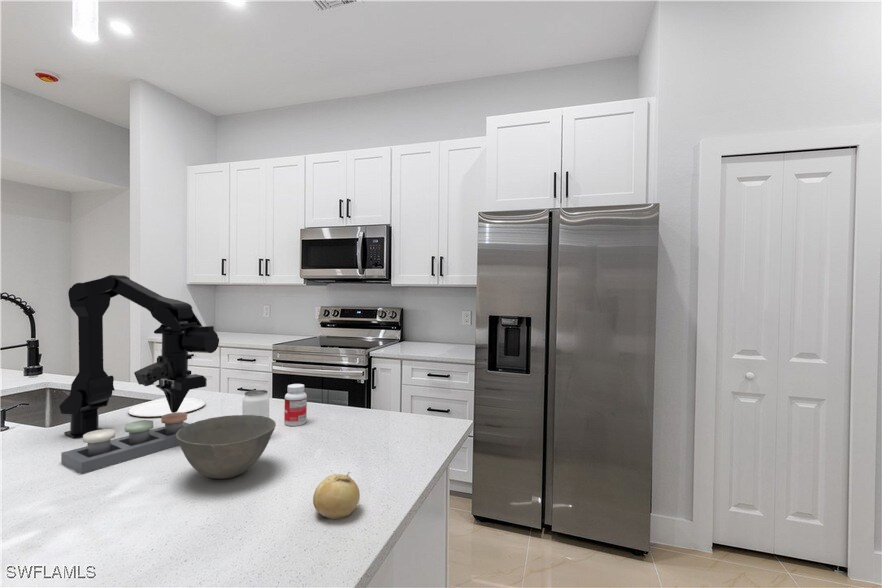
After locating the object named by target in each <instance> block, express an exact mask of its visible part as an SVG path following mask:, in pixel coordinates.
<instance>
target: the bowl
mask: <svg viewBox="0 0 882 588" xmlns="http://www.w3.org/2000/svg"><path fill="white" fill-rule="evenodd" d="M276 426H277V424H276V422H275V420H274V419H272V418H270V417H269V418H268V417H264V416H258V415H242V414H235V415H234V414H233V415H223V416H216V417H209V418H206V419H203V420H197V421H195V422H191V423H189V425H186V426H184V427H182V428H181V429H179V430H178V431H177V433H176V439H177V441H178V443H179V445H178V446H179V447H180V449H181V452H182V453H183V454H184V455H183V456H184V458H186V460H187V462H188V463H189V464H190V465H191V467H192V468H193V469H194V470H195V471H196V472H197V473H199V474H201V475H202V476H204V477H206V478H211V479H217V480H218V479H221V480H222V479H223V480H224V479H231V478H234V477H236V476H237V477H238V476H239V475H241V474H243V473H244V472H246V471H248V470H249V469H250V468H251V467H253V465H255V464H256V462H257V461H258V460H259V459H260V457H262V455H263V453H264V452H265V450H266V448H267V446H268V444H269V441H270V440H271V438H272V434H273V433H274V431H275V428H276Z"/></svg>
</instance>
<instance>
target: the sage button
mask: <svg viewBox="0 0 882 588" xmlns="http://www.w3.org/2000/svg"><path fill="white" fill-rule="evenodd" d="M154 424H155V423H154V420H151V419H144V420H136V421H131V422H128V423H126V424H125V425H124V432H126V433H128V436H129V444H141V443H144V442H147V441H149V431H150V430H153V429H154Z"/></svg>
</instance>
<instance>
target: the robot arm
mask: <svg viewBox="0 0 882 588" xmlns="http://www.w3.org/2000/svg"><path fill="white" fill-rule="evenodd" d="M67 293H68V294H67V295H68V300H69V306H70V308H71V309H72V311H73V312H74V313H75V315H76V317H77V319H78V320H77V323H78V325H77V326H78V331H77V332H78V335H77V336H78V373H77V375H76V376H75V378H74V379H73V381H72V382H71V384H70V385H71V386H70V393H69V395H68V396H67V397H66V399H64V400H63V401H62V402H61V403H60V404H59V410H60V414H62V415H70V417H69V418H70V419H69V420H70V423H69V424H70V425H69V427H70V428H69V430H67V431H64V435H65V436H68V437H71V438H72V439H78V438H83V435H84V434H86V433H88V432H91V431H96V430H102V429H103V428H101V427H99V424H100V423H99V421H100V420H99V417H100V416H99V413H100V411H99V409H100V408H103V407H107V406H108V403H109V401H110V398H111V397H112V395H113V392H114V391H115V387H114V381H115V380H114V379H115V378H114V376H113V375H108V373H107V372H106V371H105V369H104V328H103V327H104V322H103V320H104V319H103V317H104V315H105V313H107V310H108V309H109V307H110V304H111V299H112V298H115V297H117V296H121V297H123V298H125V299H127V300H129V301H130V302H133V303H134V304H137V305H138V306H140V307H142V308H144V309H146V310H147V311H149V313H150V314H151V316H152V318H153V319H155V320H156V321H157V322H158V323H160V325H159V327H157V328H156V329H155V330H154V331H153V334H156V335H161V337H162V338H161V355H158V356H157V357H156V362H154V363H152V364H149V365H146V366H144V367H142V368H140V369H138V370H136V371H134V372H133V374H134V376H135V379H136V382H137V384H138V385H139V386H140V385H142V386H144V387H149V386H151V385H154V384H155V383H156V382H158V384H156V385H155V388H157V389H159V390H160V391H163V394H164V396H165V399H167V402H168V404H169V407H170V410H171V412H172V413H175V412H177V411H178V409H179V407H180V405H181V403H182V402H183V400H184V398H186V396H187V395H188V392H190V390H195V389H199V388H206V387H207V381H208V379H207V378H206V377H205V376H204V375H202V374H201V375H200V374H196V373H194V374H192V370H190V369H189V367H188V366H189V360H192V358H193V357H192V355H193V354H189V353H197V354H198V353H201V354H202V353H203V354H206V353H207V354H212V353H215V352H216V350H217V349H218V347H219V345H220V338H219V335H218V333H217V332H216V331H215V329H214V326H213V325H206V326H203V324H202V323H201V321H200V320H199V318H198V317H197V315H196V314H195V312H194V311H193V306H192V305H191V304H190V303H189V302H187V301H186V302H185V301H181V300H179V299H175V298H170V297H166V296H163V295H161V294H159V293H157V292H156V291H153V290H151V289H150V288H148V287H145V286H144V285H142V284H140V283H138V282H136V281H134V280H132V279H130V277H129V276H127V275H124V274H123V275H121V274H120V275H118V274H109V275H106V276H104V277H102V278H97V279H93V280H89V281H84V282H77V283H74V284H73V285H72V286H71V287H69V289H68V292H67Z"/></svg>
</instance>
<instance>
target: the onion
mask: <svg viewBox="0 0 882 588" xmlns="http://www.w3.org/2000/svg"><path fill="white" fill-rule="evenodd" d="M350 473H351V471H349V472H347V473H346V474H343V473H342V474H341V473H338V474H337V473H333V474H331V475H328V476H327V477H325V478H324V479H322V480H321V481H320V482H319V484H318V485H317V486H316V488H315V491H314V492H313V495H312V496H313V497H312V503H313V507H314V509H315V511H316V513H317V514H318V515H320V517H325V518H327V519H331V520H332V519H335V520H336V519H340V518H344V517H348V516H349V515H350V514H351V513H353V511H354V510H355V509H356V508H357V506H358V504H359V502H360V497H361V495H360V489H359V487H358V484H357V483H356V482H355V480H354V479H353V478H352V477H350Z"/></svg>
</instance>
